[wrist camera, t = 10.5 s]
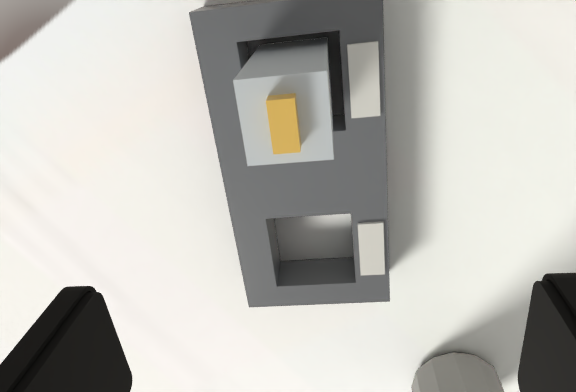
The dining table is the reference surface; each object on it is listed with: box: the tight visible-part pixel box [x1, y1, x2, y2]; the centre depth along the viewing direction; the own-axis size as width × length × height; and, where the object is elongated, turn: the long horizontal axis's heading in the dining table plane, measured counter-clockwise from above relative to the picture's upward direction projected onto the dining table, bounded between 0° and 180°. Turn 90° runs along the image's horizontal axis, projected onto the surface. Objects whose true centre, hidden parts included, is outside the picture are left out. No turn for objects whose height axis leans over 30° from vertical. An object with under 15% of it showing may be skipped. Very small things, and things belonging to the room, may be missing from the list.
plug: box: [233, 37, 334, 166], centre depth 24 cm, size 4×4×10 cm
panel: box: [189, 0, 390, 307], centre depth 29 cm, size 10×20×3 cm, turn 7°
